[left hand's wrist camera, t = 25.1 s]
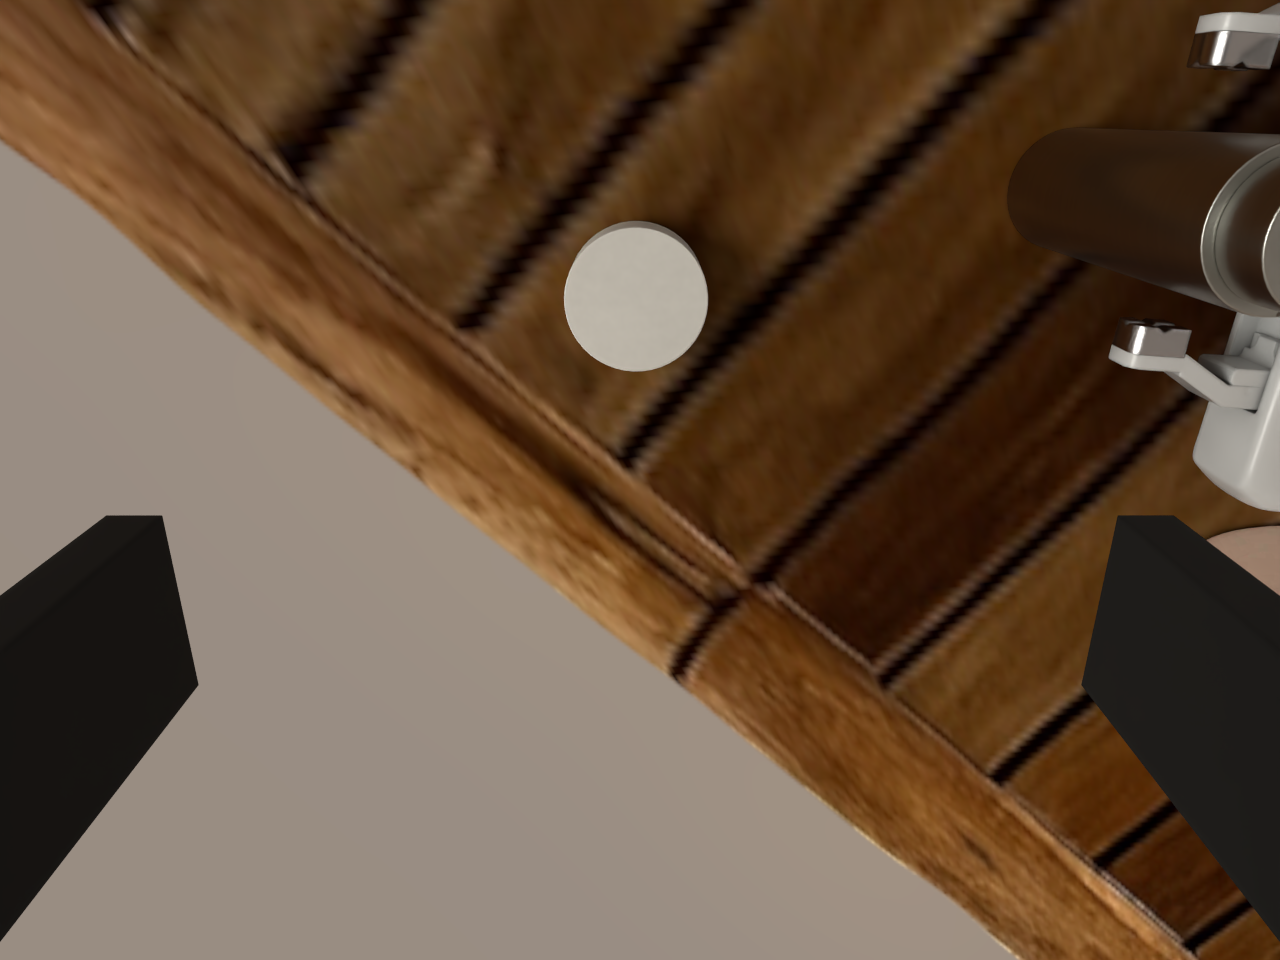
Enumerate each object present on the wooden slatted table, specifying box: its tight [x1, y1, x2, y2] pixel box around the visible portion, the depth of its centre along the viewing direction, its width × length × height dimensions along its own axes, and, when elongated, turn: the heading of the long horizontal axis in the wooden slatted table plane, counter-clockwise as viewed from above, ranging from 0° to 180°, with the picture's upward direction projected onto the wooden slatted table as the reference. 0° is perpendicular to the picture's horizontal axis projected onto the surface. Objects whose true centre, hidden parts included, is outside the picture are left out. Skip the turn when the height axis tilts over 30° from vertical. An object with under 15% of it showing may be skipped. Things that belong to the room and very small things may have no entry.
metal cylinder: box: [1008, 128, 1280, 318], centre depth 28 cm, size 4×4×15 cm
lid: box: [564, 221, 708, 371], centre depth 36 cm, size 6×6×2 cm
